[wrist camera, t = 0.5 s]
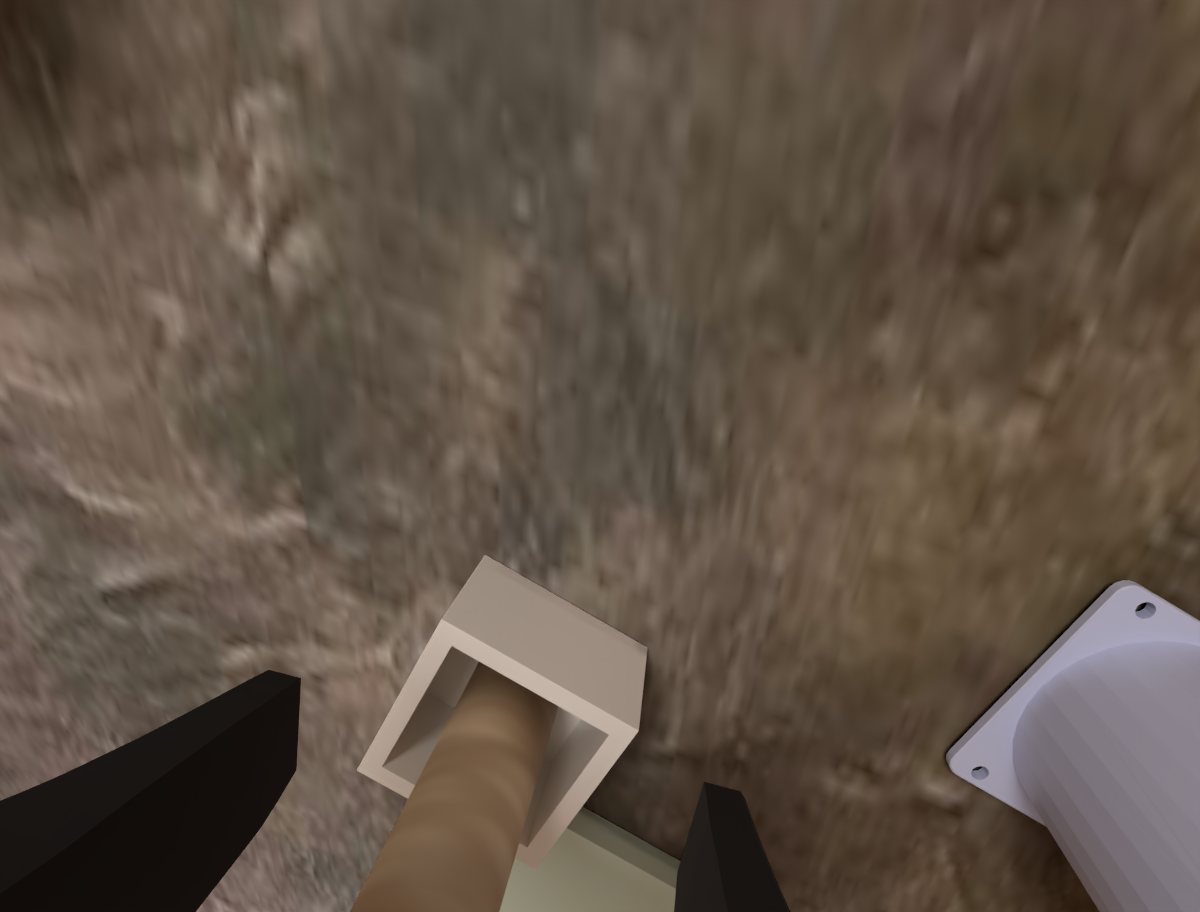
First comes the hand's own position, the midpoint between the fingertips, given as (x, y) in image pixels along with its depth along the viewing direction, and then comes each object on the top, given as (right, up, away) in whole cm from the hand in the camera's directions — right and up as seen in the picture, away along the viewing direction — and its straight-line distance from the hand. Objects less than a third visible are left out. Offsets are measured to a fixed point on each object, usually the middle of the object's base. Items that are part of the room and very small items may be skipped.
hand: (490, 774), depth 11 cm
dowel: (-1, -2, +11) cm, 11 cm away
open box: (-1, -2, +11) cm, 12 cm away
